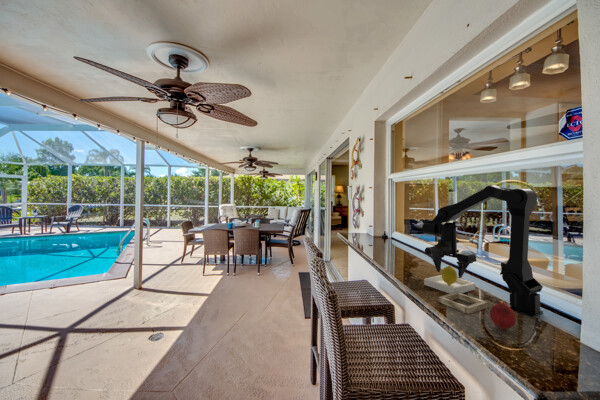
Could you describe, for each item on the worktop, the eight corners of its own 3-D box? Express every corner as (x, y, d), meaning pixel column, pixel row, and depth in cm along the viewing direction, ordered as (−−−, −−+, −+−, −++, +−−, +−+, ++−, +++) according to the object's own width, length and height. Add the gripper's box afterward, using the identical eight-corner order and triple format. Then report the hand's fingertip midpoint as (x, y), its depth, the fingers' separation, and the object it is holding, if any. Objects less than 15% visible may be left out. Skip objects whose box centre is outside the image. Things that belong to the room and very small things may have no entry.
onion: (518, 337, 65) (518, 307, 65) (491, 331, 68) (490, 302, 68) (514, 327, 70) (513, 299, 70) (488, 322, 73) (488, 295, 73)
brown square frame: (487, 307, 83) (487, 302, 83) (468, 314, 78) (468, 308, 78) (457, 296, 92) (457, 291, 92) (438, 301, 88) (438, 296, 88)
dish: (475, 289, 99) (475, 283, 99) (454, 295, 93) (454, 288, 93) (444, 280, 111) (444, 274, 111) (424, 284, 105) (424, 278, 105)
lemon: (460, 287, 99) (460, 267, 99) (446, 287, 99) (446, 267, 99) (451, 282, 105) (452, 264, 104) (438, 282, 105) (439, 263, 105)
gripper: (415, 235, 107) (416, 271, 107) (458, 242, 90) (458, 284, 90) (433, 234, 112) (433, 268, 112) (476, 239, 95) (477, 280, 95)
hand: (448, 274), depth 102 cm, fingers open, 9 cm apart
